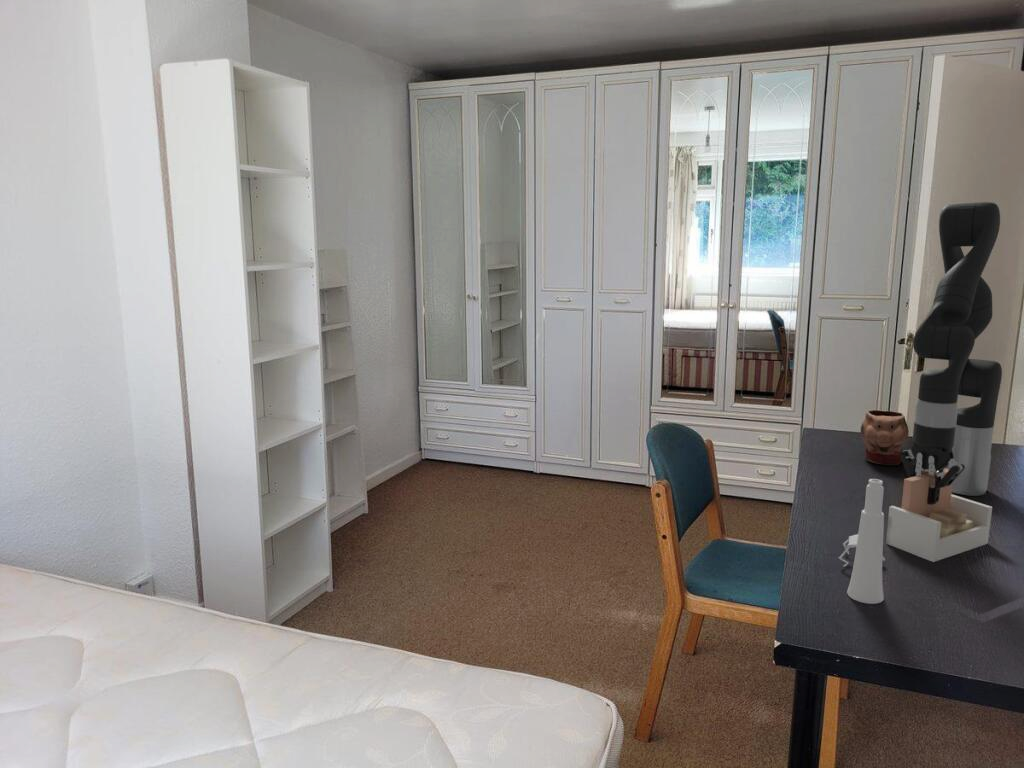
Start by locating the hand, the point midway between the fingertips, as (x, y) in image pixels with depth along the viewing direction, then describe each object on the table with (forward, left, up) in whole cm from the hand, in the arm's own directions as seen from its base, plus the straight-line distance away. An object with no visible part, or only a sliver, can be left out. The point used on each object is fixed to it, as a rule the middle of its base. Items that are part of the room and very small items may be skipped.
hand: (926, 501), depth 160 cm
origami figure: (+18, 0, -9) cm, 20 cm away
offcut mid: (-1, +5, -6) cm, 7 cm away
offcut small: (0, +5, -3) cm, 6 cm away
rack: (0, +3, -9) cm, 10 cm away
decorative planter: (-44, -42, -9) cm, 62 cm away
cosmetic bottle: (+31, +10, -9) cm, 34 cm away
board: (0, 0, -8) cm, 8 cm away
